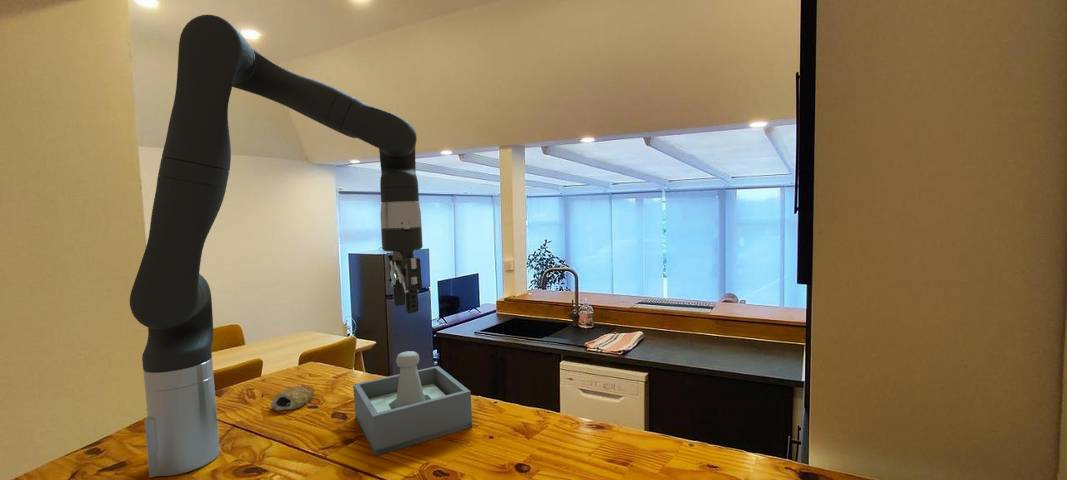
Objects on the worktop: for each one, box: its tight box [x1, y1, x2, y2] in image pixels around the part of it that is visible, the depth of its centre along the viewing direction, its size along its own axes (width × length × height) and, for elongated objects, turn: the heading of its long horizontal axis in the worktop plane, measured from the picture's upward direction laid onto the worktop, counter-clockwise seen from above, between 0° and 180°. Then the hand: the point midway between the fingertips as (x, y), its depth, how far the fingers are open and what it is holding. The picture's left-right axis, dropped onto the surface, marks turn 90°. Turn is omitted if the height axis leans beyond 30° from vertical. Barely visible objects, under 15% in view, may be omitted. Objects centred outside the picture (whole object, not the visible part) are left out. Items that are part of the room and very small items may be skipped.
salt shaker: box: [395, 350, 425, 408], centre depth 89 cm, size 6×6×13 cm
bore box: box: [352, 365, 473, 457], centre depth 90 cm, size 18×18×7 cm
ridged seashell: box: [270, 385, 315, 411], centre depth 102 cm, size 9×7×4 cm
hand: (405, 308), depth 88 cm, fingers open, 8 cm apart
